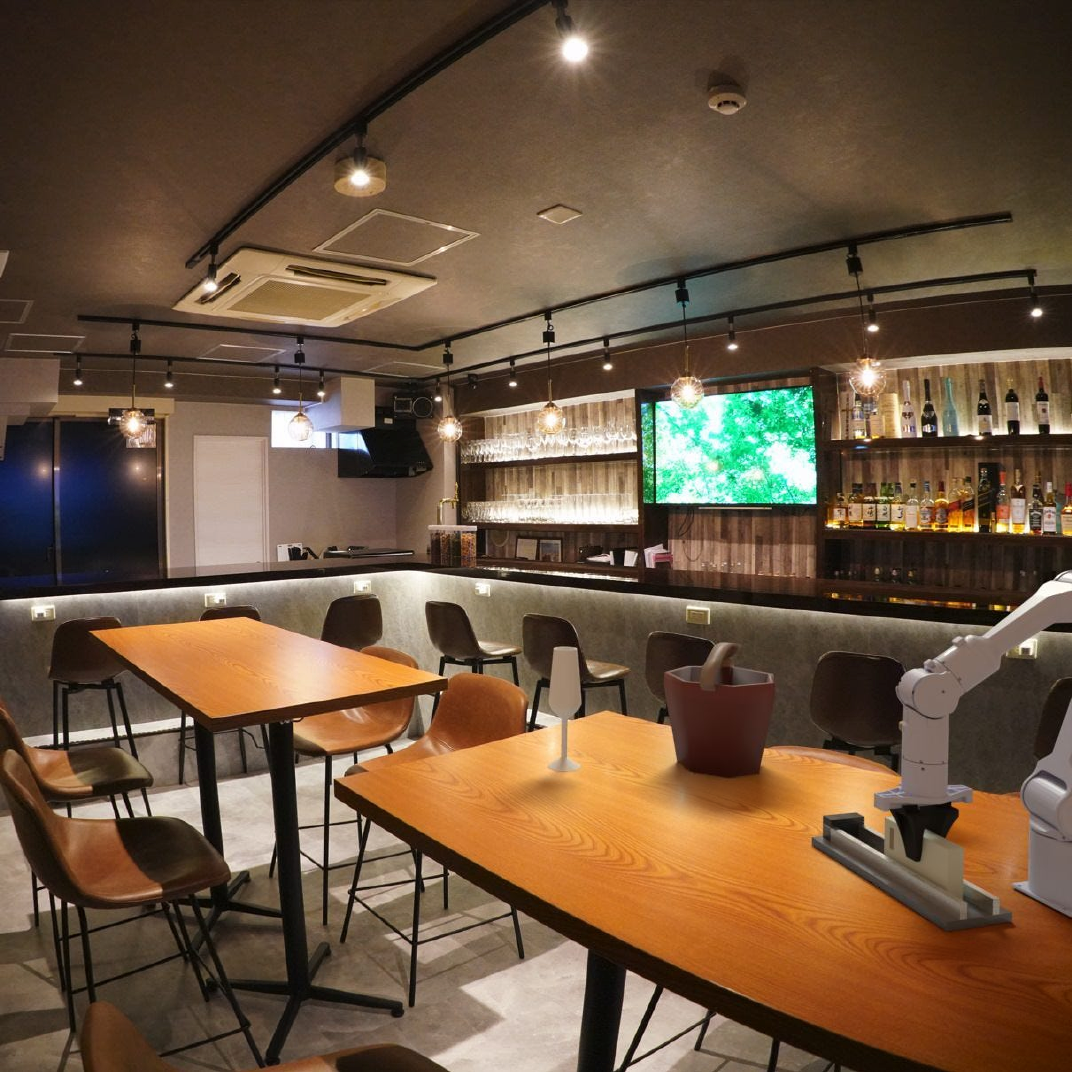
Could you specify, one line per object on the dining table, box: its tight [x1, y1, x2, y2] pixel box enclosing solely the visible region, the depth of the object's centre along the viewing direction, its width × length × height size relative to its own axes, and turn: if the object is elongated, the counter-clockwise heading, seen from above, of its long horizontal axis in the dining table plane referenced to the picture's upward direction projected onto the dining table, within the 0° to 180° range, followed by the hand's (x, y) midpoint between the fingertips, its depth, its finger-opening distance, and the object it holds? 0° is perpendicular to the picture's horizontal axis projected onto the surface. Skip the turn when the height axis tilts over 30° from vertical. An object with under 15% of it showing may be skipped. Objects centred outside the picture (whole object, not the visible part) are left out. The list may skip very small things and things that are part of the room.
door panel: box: [884, 815, 965, 900], centre depth 113 cm, size 12×3×7 cm, turn 16°
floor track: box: [811, 811, 1013, 932], centre depth 117 cm, size 28×10×4 cm, turn 16°
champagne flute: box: [547, 646, 582, 772], centre depth 168 cm, size 7×7×24 cm
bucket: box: [663, 642, 776, 779], centre depth 170 cm, size 24×22×25 cm
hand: (922, 858), depth 113 cm, fingers closed on door panel, 2 cm apart
